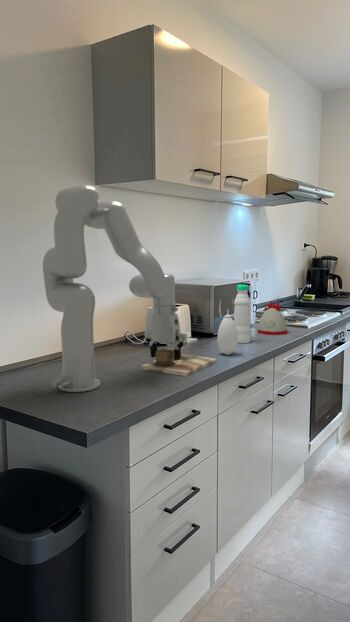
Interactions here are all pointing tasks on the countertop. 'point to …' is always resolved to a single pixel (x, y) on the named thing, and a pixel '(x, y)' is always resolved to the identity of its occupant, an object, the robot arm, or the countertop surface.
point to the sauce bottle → (227, 335)
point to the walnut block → (165, 358)
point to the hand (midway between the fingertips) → (165, 358)
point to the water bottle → (242, 314)
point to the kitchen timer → (272, 321)
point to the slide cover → (188, 341)
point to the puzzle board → (182, 365)
